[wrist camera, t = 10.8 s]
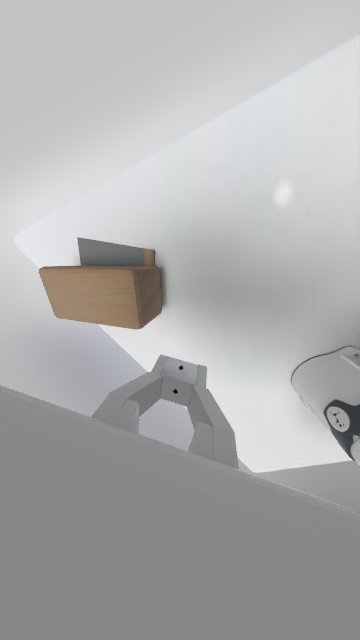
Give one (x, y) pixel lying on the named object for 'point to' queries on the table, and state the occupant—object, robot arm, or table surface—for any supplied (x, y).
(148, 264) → the mat
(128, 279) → the wooden block
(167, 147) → the table surface
